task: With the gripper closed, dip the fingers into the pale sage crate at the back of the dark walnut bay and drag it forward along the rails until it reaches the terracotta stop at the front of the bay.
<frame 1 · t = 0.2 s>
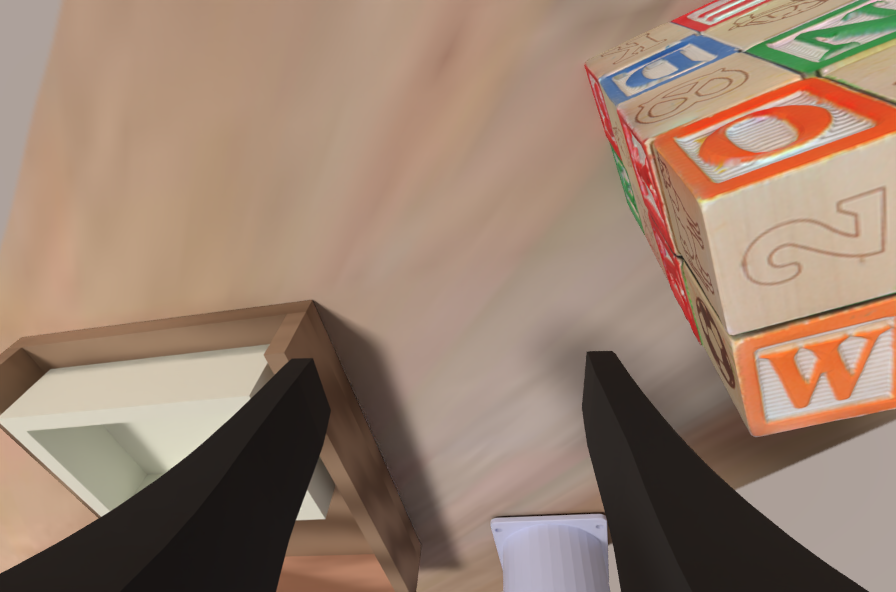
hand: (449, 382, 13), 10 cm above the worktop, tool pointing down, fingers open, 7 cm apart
bay: (252, 458, 32), on the worktop
crate: (188, 444, 27), point 3 cm above the worktop, slide at 0.0 cm
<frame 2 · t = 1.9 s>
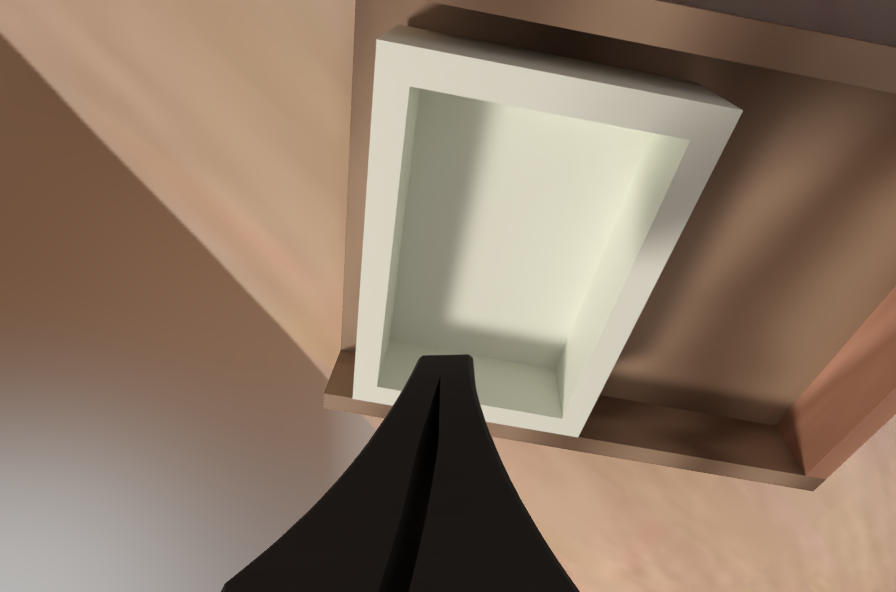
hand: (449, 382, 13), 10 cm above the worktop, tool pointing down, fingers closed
bay: (623, 247, 21), on the worktop
crate: (501, 261, 18), point 3 cm above the worktop, slide at 0.0 cm
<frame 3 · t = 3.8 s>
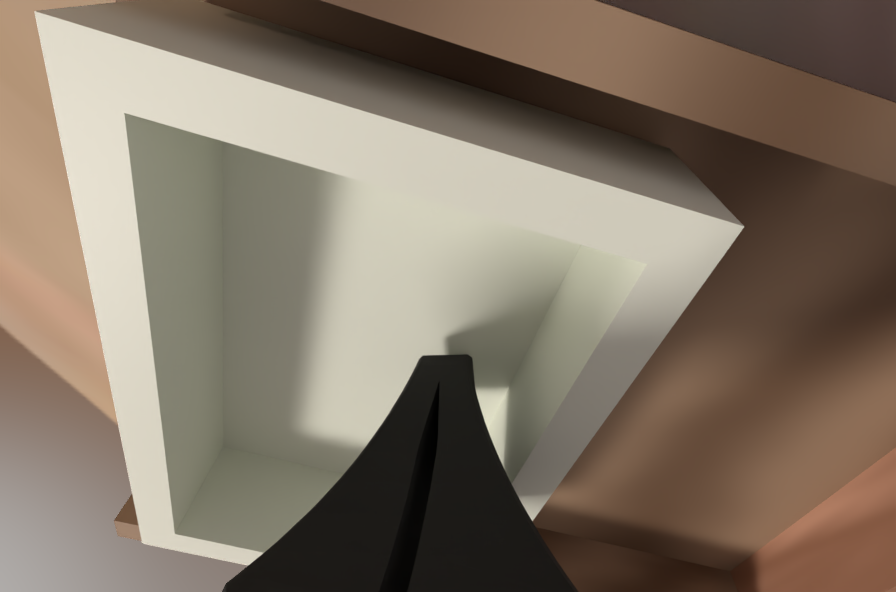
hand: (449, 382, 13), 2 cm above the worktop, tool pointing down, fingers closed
bay: (553, 351, 15), on the worktop
crate: (361, 379, 12), point 3 cm above the worktop, slide at 0.0 cm, touching gripper
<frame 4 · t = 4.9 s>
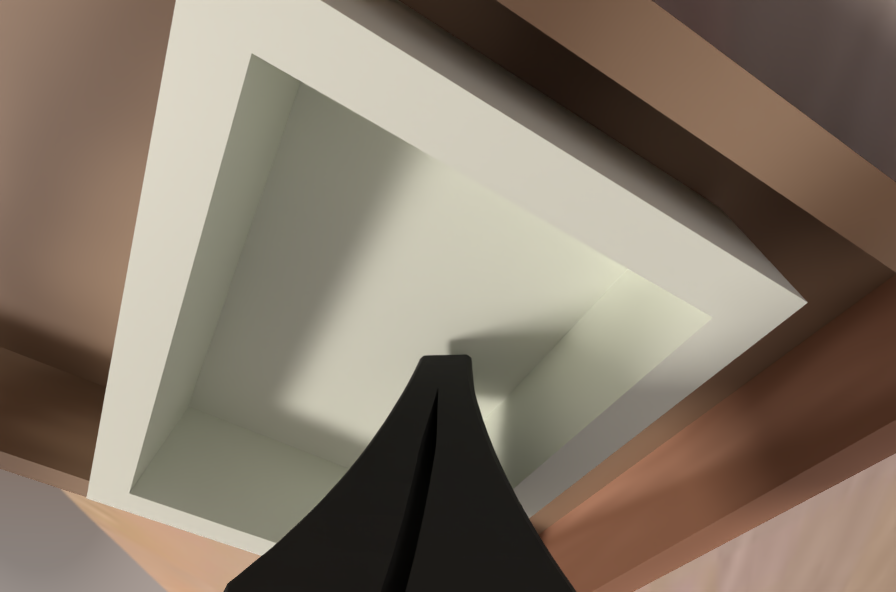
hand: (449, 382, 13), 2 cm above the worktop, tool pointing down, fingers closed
bay: (363, 279, 14), on the worktop
crate: (373, 367, 12), point 3 cm above the worktop, slide at 6.5 cm, touching gripper
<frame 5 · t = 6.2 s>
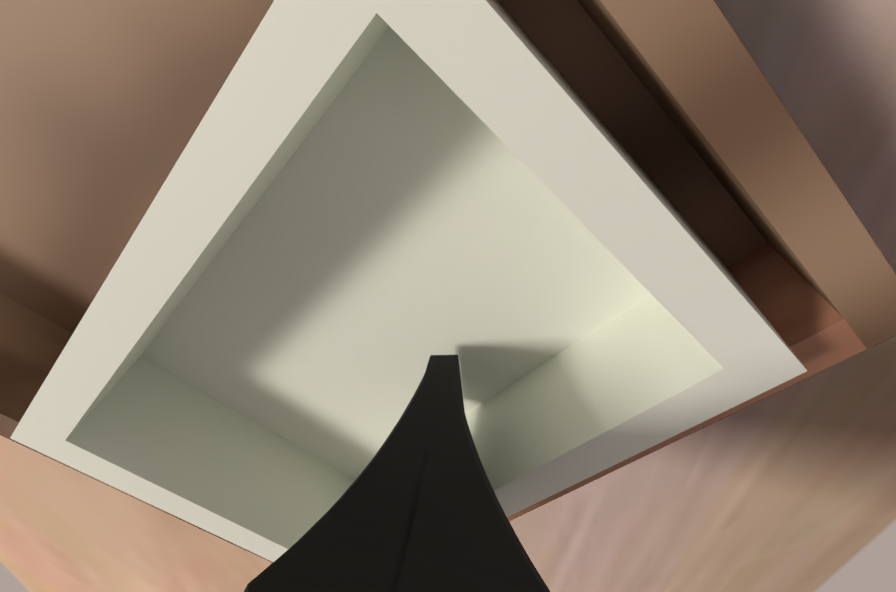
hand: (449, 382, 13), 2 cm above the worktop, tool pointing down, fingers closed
bay: (215, 144, 12), on the worktop
crate: (367, 352, 11), point 3 cm above the worktop, slide at 11.2 cm, touching gripper
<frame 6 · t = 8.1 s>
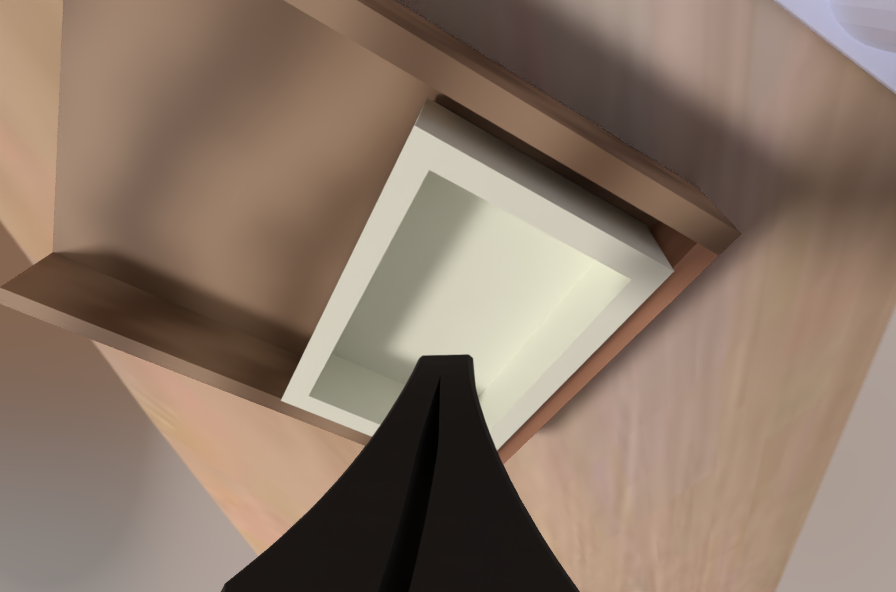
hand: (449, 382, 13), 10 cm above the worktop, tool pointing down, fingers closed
bay: (351, 226, 22), on the worktop
crate: (453, 317, 21), point 3 cm above the worktop, slide at 11.0 cm
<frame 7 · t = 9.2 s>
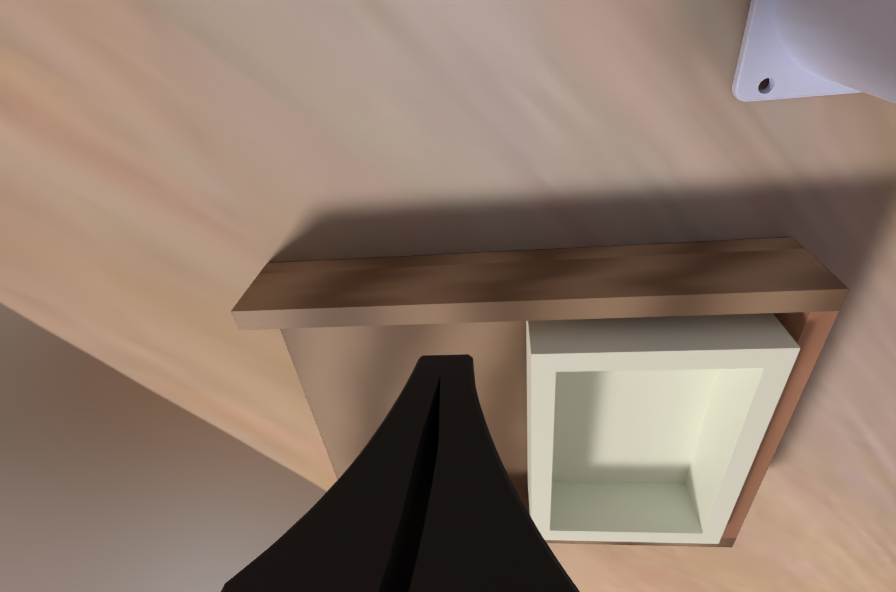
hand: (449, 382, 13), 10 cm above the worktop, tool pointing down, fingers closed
bay: (516, 389, 27), on the worktop
crate: (629, 432, 24), point 3 cm above the worktop, slide at 11.0 cm
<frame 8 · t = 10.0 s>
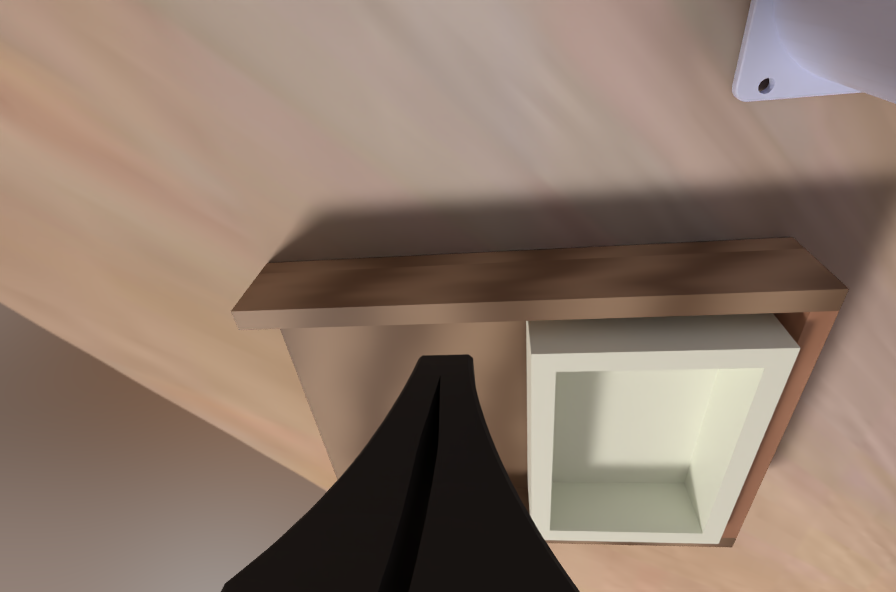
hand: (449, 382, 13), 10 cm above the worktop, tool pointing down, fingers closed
bay: (516, 389, 27), on the worktop
crate: (629, 432, 24), point 3 cm above the worktop, slide at 11.0 cm
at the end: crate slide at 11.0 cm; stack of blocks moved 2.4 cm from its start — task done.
